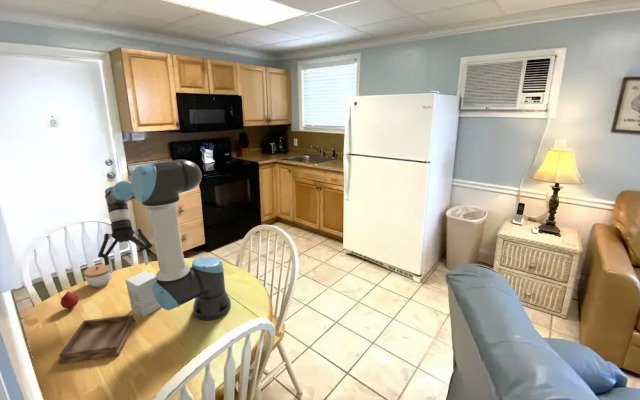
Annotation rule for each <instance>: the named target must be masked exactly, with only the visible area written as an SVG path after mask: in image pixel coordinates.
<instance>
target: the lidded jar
mask: <svg viewBox="0 0 640 400" xmlns="http://www.w3.org/2000/svg"><path fill="white" fill-rule="evenodd" d="M83 276H84V279H85V281H86V282H87V284H88V285H90V286H91V287H94V288H101V287H102V288H103V287H104V286H106V285H108V284H109V282H110V280H111V279H112V276H113V272H112V273H109V267H108V265H105V263H99V264H96V265H92V266H90V267H88V268H86V269H85V270H84V271H83Z"/></svg>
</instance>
